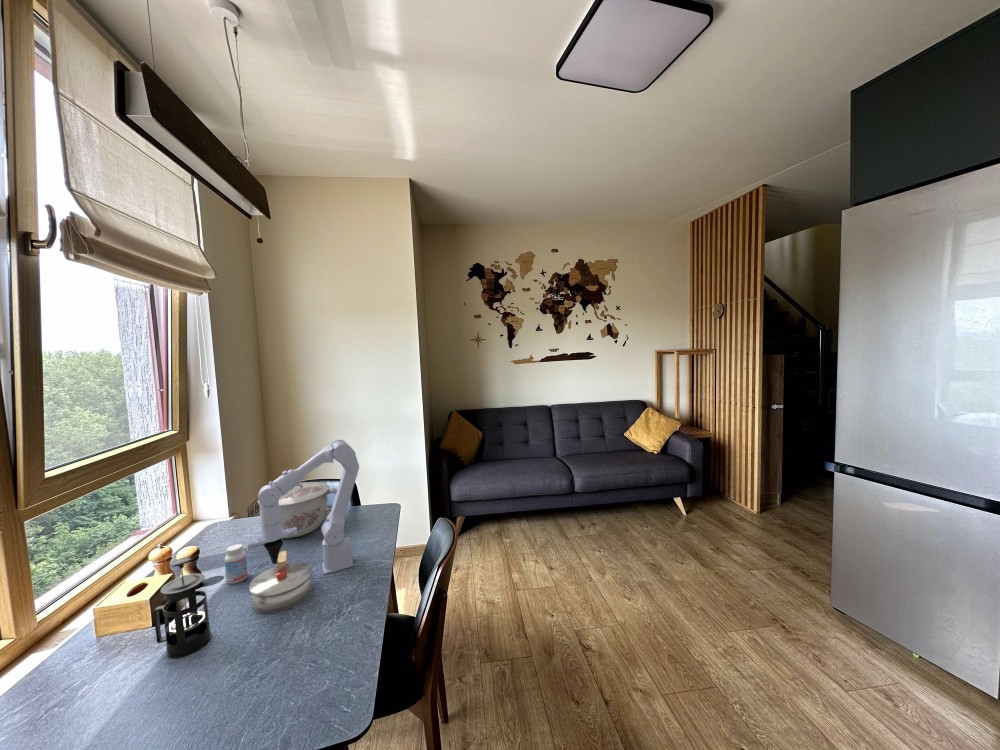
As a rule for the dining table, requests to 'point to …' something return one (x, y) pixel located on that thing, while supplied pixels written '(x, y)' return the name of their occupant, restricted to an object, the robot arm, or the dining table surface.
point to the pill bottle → (235, 564)
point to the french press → (183, 614)
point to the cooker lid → (280, 578)
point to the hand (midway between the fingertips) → (274, 562)
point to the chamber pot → (305, 507)
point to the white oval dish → (282, 600)
